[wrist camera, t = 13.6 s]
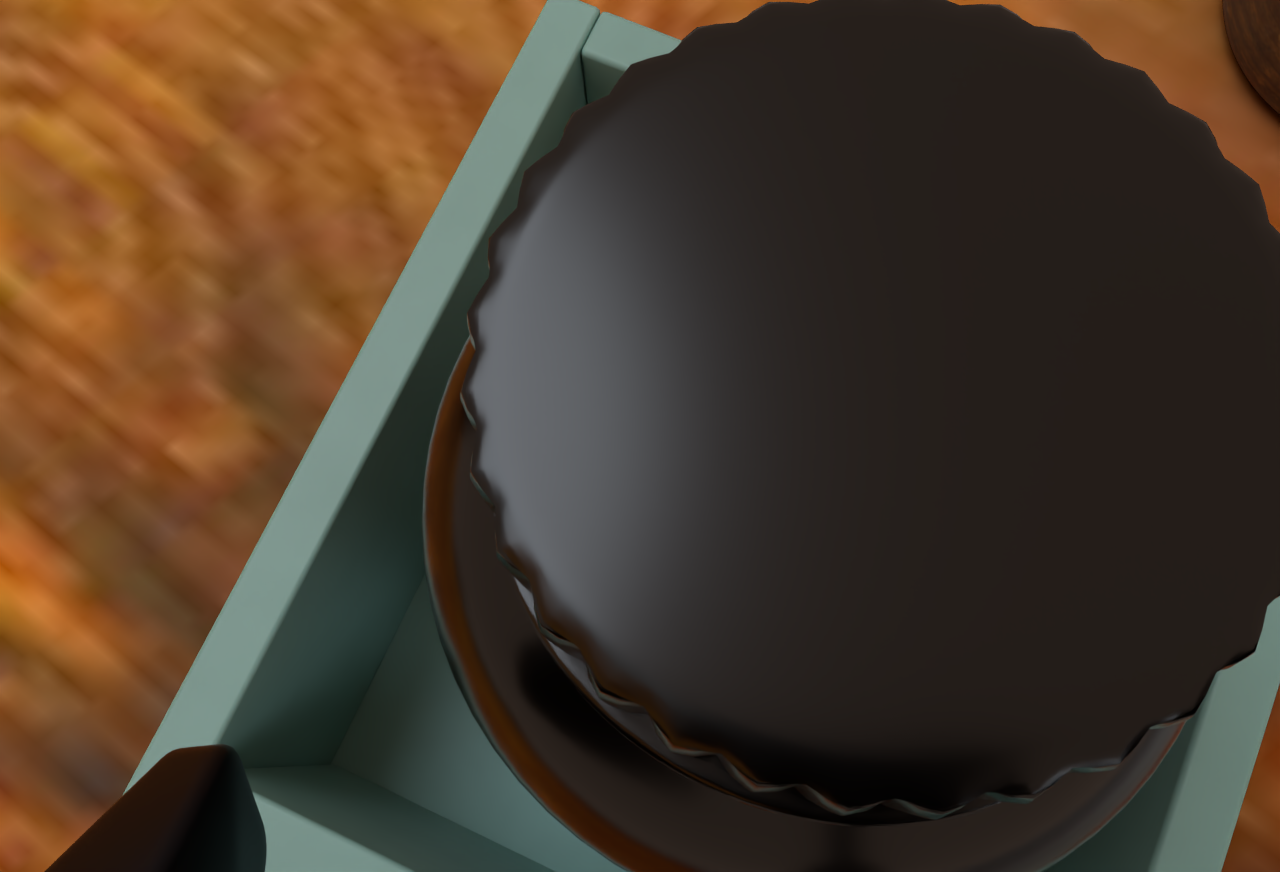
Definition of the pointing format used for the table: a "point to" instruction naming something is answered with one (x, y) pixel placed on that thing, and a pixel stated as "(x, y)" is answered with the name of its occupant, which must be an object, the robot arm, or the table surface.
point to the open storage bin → (399, 600)
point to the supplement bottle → (860, 447)
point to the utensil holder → (1256, 43)
